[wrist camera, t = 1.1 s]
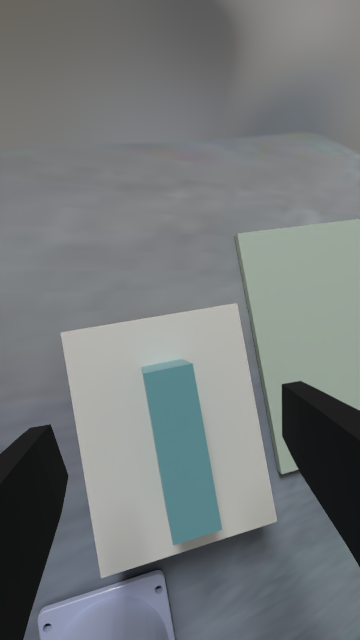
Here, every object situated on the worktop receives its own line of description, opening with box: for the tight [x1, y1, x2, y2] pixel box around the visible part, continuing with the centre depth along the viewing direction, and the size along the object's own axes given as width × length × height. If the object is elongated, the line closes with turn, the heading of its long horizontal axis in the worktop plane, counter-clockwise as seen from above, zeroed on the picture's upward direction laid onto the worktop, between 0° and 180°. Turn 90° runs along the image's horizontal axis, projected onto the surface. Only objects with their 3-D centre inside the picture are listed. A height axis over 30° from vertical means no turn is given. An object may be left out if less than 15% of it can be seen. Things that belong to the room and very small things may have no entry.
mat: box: [234, 219, 360, 474], centre depth 22 cm, size 18×13×1 cm
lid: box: [61, 303, 277, 578], centre depth 16 cm, size 13×10×5 cm
